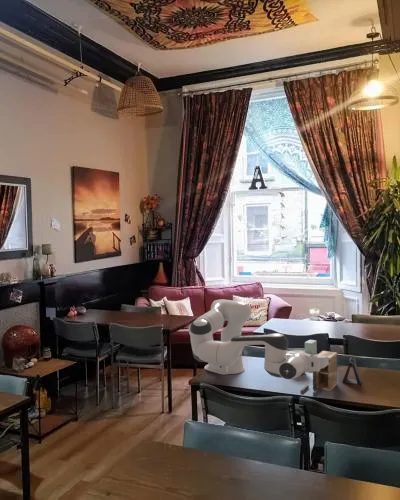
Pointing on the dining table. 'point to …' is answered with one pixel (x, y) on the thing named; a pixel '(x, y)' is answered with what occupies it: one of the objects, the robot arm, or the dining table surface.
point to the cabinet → (325, 375)
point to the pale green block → (311, 347)
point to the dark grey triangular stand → (357, 375)
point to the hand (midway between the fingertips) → (311, 354)
